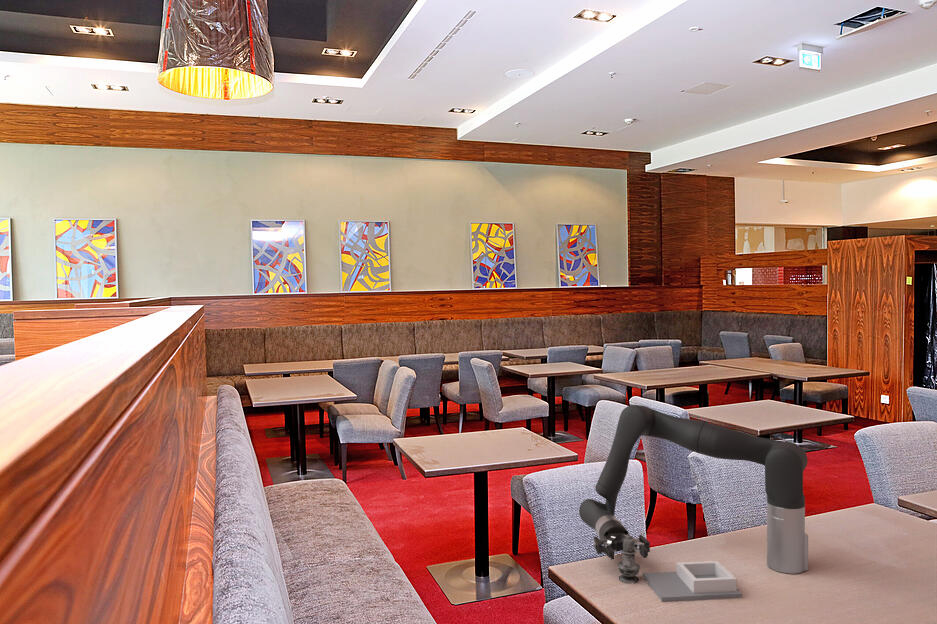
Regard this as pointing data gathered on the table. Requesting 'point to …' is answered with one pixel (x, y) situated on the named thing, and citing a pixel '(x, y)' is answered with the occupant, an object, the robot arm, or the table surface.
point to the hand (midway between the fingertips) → (629, 555)
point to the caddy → (694, 582)
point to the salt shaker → (628, 562)
